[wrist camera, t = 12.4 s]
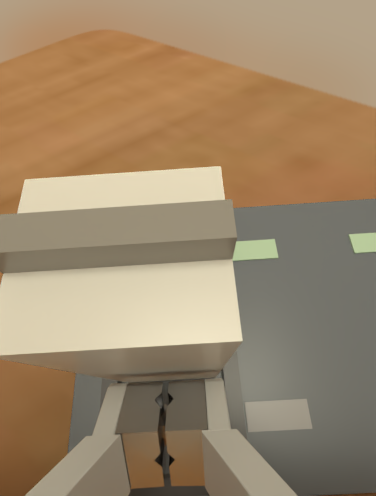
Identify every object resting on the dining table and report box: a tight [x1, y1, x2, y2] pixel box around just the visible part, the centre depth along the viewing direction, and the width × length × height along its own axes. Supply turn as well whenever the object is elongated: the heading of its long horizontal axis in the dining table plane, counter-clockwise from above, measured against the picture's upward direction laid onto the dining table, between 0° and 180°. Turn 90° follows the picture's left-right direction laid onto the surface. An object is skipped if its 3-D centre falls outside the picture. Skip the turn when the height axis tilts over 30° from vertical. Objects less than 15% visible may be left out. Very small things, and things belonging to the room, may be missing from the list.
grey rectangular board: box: [68, 199, 376, 496], centre depth 13 cm, size 22×12×2 cm, turn 93°
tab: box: [0, 166, 243, 383], centre depth 8 cm, size 4×3×10 cm
